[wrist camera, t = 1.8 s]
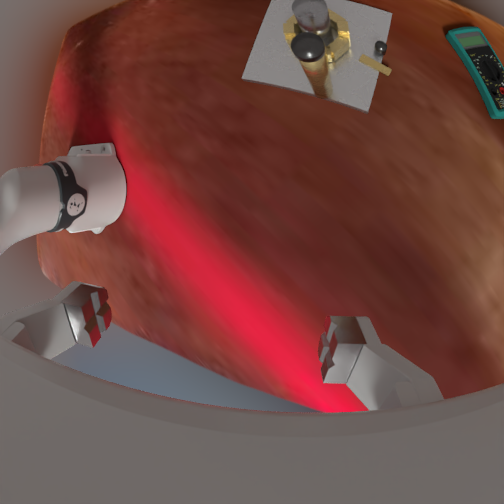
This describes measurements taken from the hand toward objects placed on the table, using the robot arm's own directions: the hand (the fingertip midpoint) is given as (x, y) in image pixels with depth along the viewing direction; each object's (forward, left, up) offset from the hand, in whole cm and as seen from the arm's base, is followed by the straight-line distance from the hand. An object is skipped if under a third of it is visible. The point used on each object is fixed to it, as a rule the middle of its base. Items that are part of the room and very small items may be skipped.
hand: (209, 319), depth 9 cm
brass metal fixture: (-6, +22, -28) cm, 36 cm away
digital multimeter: (+18, +32, -31) cm, 48 cm away
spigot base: (-7, +25, -30) cm, 39 cm away
